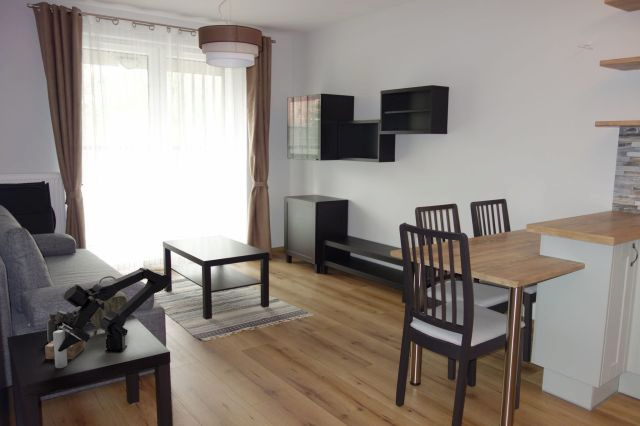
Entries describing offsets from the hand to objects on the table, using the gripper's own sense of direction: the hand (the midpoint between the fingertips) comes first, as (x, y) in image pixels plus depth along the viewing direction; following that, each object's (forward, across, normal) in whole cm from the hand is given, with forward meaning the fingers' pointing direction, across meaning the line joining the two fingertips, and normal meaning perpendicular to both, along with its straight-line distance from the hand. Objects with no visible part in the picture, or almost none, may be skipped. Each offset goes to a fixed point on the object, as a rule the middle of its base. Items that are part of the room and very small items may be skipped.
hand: (56, 349), depth 188 cm
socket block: (0, -10, +10) cm, 14 cm away
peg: (+4, 0, +6) cm, 7 cm away
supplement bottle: (-2, -26, +12) cm, 29 cm away
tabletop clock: (-16, -19, +26) cm, 36 cm away
